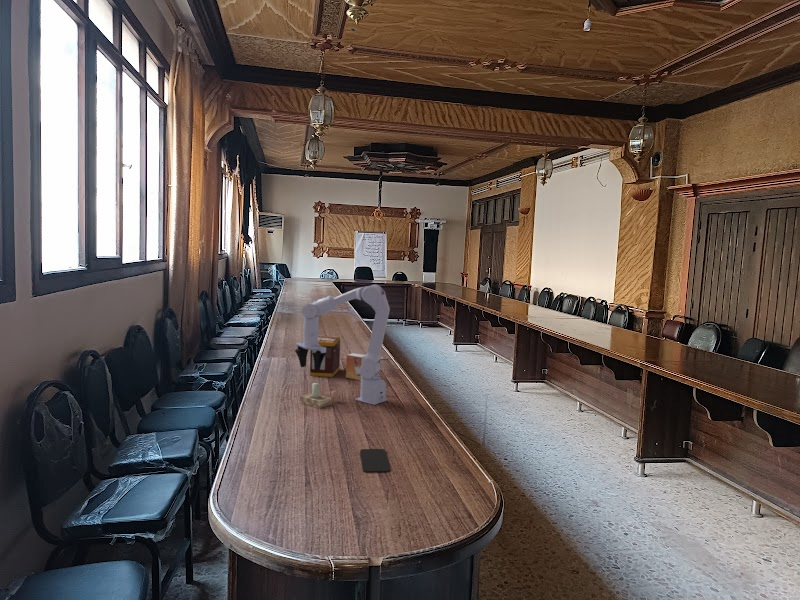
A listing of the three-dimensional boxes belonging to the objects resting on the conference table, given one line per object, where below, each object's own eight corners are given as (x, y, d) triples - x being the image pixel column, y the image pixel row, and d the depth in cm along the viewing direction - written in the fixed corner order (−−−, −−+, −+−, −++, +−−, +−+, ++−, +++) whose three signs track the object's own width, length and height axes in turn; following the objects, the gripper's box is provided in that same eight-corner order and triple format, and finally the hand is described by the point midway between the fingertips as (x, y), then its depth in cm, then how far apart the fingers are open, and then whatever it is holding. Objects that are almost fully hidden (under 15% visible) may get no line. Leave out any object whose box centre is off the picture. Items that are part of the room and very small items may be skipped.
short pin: (339, 401, 204) (339, 391, 204) (334, 403, 202) (334, 392, 202) (334, 400, 206) (334, 390, 205) (329, 401, 203) (329, 391, 203)
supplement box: (339, 369, 255) (340, 336, 253) (332, 377, 240) (333, 342, 238) (318, 367, 256) (318, 335, 254) (309, 375, 241) (310, 341, 239)
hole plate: (331, 404, 200) (331, 398, 200) (319, 408, 195) (319, 401, 195) (311, 399, 206) (311, 392, 206) (300, 402, 201) (300, 396, 201)
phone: (362, 471, 143) (359, 449, 158) (362, 474, 143) (359, 451, 158) (390, 470, 144) (385, 448, 158) (390, 473, 144) (384, 451, 159)
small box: (345, 378, 239) (346, 354, 238) (352, 375, 244) (353, 352, 243) (360, 380, 235) (361, 357, 234) (367, 378, 240) (368, 354, 239)
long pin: (320, 403, 201) (320, 383, 201) (317, 405, 199) (317, 385, 198) (313, 402, 202) (314, 382, 201) (310, 404, 200) (311, 384, 199)
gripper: (331, 335, 208) (331, 369, 210) (305, 330, 217) (304, 363, 218) (319, 337, 203) (318, 372, 204) (291, 332, 211) (291, 366, 212)
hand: (310, 368), depth 211 cm, fingers open, 7 cm apart
